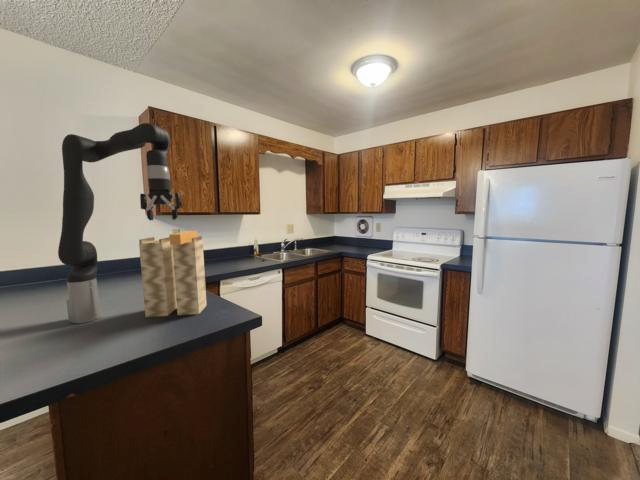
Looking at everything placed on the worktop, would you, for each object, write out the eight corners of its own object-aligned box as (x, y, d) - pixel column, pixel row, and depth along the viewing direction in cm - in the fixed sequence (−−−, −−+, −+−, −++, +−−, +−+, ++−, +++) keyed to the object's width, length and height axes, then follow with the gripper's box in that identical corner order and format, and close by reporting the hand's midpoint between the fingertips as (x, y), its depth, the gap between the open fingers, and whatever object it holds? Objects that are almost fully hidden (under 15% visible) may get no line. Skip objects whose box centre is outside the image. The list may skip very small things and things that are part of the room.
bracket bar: (170, 244, 104) (169, 234, 103) (188, 239, 124) (188, 230, 123) (180, 244, 104) (180, 234, 104) (197, 239, 124) (197, 230, 124)
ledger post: (177, 315, 115) (171, 239, 111) (186, 306, 126) (182, 236, 122) (199, 314, 116) (194, 238, 112) (206, 305, 127) (202, 236, 123)
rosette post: (145, 317, 113) (138, 239, 110) (157, 307, 124) (152, 237, 121) (167, 315, 114) (161, 239, 111) (178, 306, 125) (172, 236, 122)
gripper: (134, 177, 99) (138, 220, 100) (174, 177, 101) (178, 219, 102) (144, 179, 106) (148, 220, 108) (181, 179, 108) (185, 219, 110)
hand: (163, 219), depth 105 cm, fingers open, 8 cm apart
